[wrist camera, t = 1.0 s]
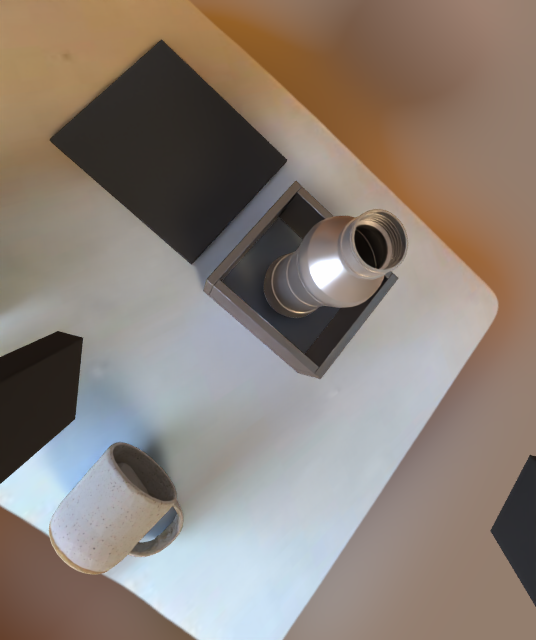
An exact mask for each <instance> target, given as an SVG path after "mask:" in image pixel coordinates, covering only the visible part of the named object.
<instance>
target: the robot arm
mask: <svg viewBox="0 0 536 640" xmlns="http://www.w3.org/2000/svg"><path fill="white" fill-rule="evenodd" d="M82 344H83V338H82V337H79V336H75V335H71V334H67V333H63V332H59V331H57V332H55V333H53V334H50V335H48V336H46V337H44V338H42V339H39V340H37V341H35V342H33V343H31V344H28V345H26V346H24V347H22V348H19V349H17V350H15V351H13V352H11V353H8V354H6V355H4V356H2V357H0V484H1V483H2V482H3V481H4V480H5V479H7V478H8V477H9V476H10V475H11V474H12V473H14V472H15V471H16V470H17V469H18V468H19V467H20V466H22V465H23V464H24V463H25V462H26V461H27V460H29V459H30V458H31V457H32V456H33V455H34V454H35V453H37V452H38V451H39V450H40V449H41V448H42V447H43V446H45V445H46V444H47V443H48V442H49V441H50V440H52V439H53V438H54V437H55V436H56V435H57V434H58V433H60V432H61V431H62V430H63V429H64V428H65V427H66V426H68V425H69V424H70V423H71V422H72V421H73V420H75V415H76V405H77V395H78V384H79V374H80V364H81V354H82ZM491 533H492V534H493V536H494V538H495V539H496V541H497V543H498V544H499V546H500V548H501V549H502V551H503V553H504V554H505V556H506V558H507V559H508V561H509V563H510V564H511V566H512V568H513V569H514V571H515V573H516V574H517V576H518V578H519V579H520V581H521V583H522V584H523V586H524V588H525V589H526V591H527V593H528V594H529V596H530V598H531V599H532V601H533V603H534V604H535V606H536V456H532V455H530V456H529V458H528V460H527V462H526V464H525V466H524V467H523V469H522V471H521V473H520V475H519V477H518V479H517V481H516V483H515V485H514V487H513V489H512V490H511V492H510V495H509V496H508V498H507V500H506V502H505V504H504V506H503V508H502V510H501V512H500V514H499V515H498V517H497V519H496V521H495V523H494V525H493V527H492V529H491Z"/></svg>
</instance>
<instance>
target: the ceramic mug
mask: <svg viewBox="0 0 536 640" xmlns="http://www.w3.org/2000/svg"><path fill="white" fill-rule="evenodd" d="M172 506H173V507H174V509H175V510H176V512H177V515H176V517H175V519H174V521H173V522H172V523H171V524H170V525H169V526H168V527H167V528H166V529H165V530H164V531H163V532H162V533H161V534H160V535H158V536H157V537H156V538H155V539H154V540H151V541H148V542H143V543H140V542H139V541H140V540H141V539H142V538H143V537H144V536H145V535H146V534H147V533H148V531H149V530H150V529H151V528H152V527H153V526H154V525H155V524H156V523H157V522H158V521H159V520H160V519H161V518H162V517H163V516H164V515H165V514H166V513H167V512H168V511H169V509H170V508H171V507H172ZM182 527H183V513H182V510H181V507H180V505H179V502H178V501H177V493H176V489H175V486H174V484H173V483H172V481H171V479H170V478H169V476H168V475H167V473H166V472H165V471H164V470H163V468H162V467H161V466H159V465H158V464H157V463H156V462H155V461H154V460H153V459H152V458H151V457H150V456H148V455H147V454H146V453H145V452H143V451H141V450H140V449H138V448H137V447H134V446H132V445H130V444H127V443H120V442H118V443H115V444H113V445H111V446H110V447H109V448H108V449H107V450H106V452H105V453H104V454H103V455H102V456H101V457H100V459H99V460H98V461H97V462H96V463H95V464H94V465H93V466H92V468H91V469H90V470H89V471H88V472H87V473H86V474H85V476H84V477H83V478H82V479H81V480H80V482H79V483H78V484H77V485H76V486H75V487H74V488H73V489H72V491H71V492H70V493H69V494H68V495H67V496H66V497H65V498H64V500H63V501H62V502H61V503H60V505H59V506H58V508H57V510H56V511H55V512H54V514H53V516H52V518H51V521H50V524H49V535H50V540H51V543H52V545H53V547H54V549H55V551H56V552H57V554H58V556H59V557H61V559H62V560H63V561H64V562H65V563H66V564H68V565H69V566H71V567H72V568H74V569H75V570H77V571H80V572H83V573H86V574H101V573H105V572H107V571H108V570H110V569H111V568H113V567H114V566H115V565H117V564H118V563H119V562H120V561H122V560H123V559H124V558H125V557H126V556H127V555H130V556H135V557H147V556H150V555H153V554H156V553H158V552H160V551H161V550H163V549H164V548H166V547H167V546H168V545H170V544H171V543H172V542H173V541H174V540H175V538H176V537H177V536H178V535H179V533H180V531H181V529H182Z"/></svg>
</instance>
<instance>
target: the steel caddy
mask: <svg viewBox="0 0 536 640" xmlns="http://www.w3.org/2000/svg"><path fill="white" fill-rule="evenodd" d="M330 217H334V216H332V215H331V214H330V213H329V212H328V211H327V210H326V209H325V208H324V207H323V206H322V205H321V204H320V203H319V202H318V201H317V200H316V199H315V198H314V197H313V196H311V195H310V194H309V193H308V192H307V191H306V190H305V189H304V188H303V187H302V186H301V185H300V184H299V183H298V182H297V181H295V182H294V183H293V184H292V185H291V186H290V187H289V189H288V190H287V191H286V192H285V193H284V194H283V195H282V196H281V197H280V199H279V200H278V201H277V202H276V203H275V204H274V205H273V206H272V207H271V208H270V210H269V211H268V212H267V213H266V214H265V215H264V216H263V217H262V218H261V220H260V221H259V222H258V223H257V224H256V225H255V226H254V227H253V228H252V230H251V231H250V232H249V233H248V234H247V235H246V236H245V237H244V238H243V239H242V241H241V242H240V243H239V244H238V245H237V246H236V247H235V248H234V249H233V251H232V252H231V253H230V254H229V255H228V256H227V257H226V258H225V259H224V261H223V262H222V263H221V264H220V265H219V266H218V267H217V268H216V269H215V270H214V272H213V273H212V274H211V275H210V276H209V277H208V278H207V279H206V283H205V286H204V290H203V291H204V292H205V293H206V294H207V295H209V296H210V297H211V298H212V299H213V300H214V301H215V302H217V303H218V304H219V305H220V306H221V307H222V308H224V309H225V310H226V311H227V312H228V313H229V314H230V315H232V316H233V317H234V318H235V319H236V320H237V321H239V322H240V323H241V324H242V325H243V326H244V327H245V328H247V329H248V330H249V331H250V332H251V333H252V334H254V335H255V336H256V337H257V338H258V339H259V340H260V341H262V342H263V343H264V344H265V345H266V346H267V347H269V348H270V349H271V350H272V351H273V352H274V353H276V354H277V355H278V356H279V357H280V358H281V359H282V360H284V361H285V362H286V363H287V364H288V365H289V366H291V367H292V368H293V369H294V370H295V371H296V372H297V373H300V374H304V375H307V376H311V377H315V378H318V379H321V378H322V377H323V375H324V374H325V373H326V371H327V370H328V369H329V368H330V366H331V365H332V364H333V362H334V361H335V360H336V358H337V357H338V356H339V355H340V353H341V352H342V351H343V349H344V348H345V347H346V345H347V344H348V343H349V342H350V340H351V339H352V338H353V336H354V335H355V334H356V333H357V331H358V330H359V329H360V327H361V326H362V325H363V323H364V322H365V321H366V320H367V318H368V317H369V316H370V314H371V313H372V312H373V311H374V309H375V308H376V307H377V305H378V304H379V303H380V301H381V300H382V299H383V298H384V296H385V295H386V294H387V292H388V291H389V290H390V288H391V287H392V286H393V285H394V283H395V282H396V281H397V279H398V277H397V276H396V275H395V274H393V273H392V272H391V271H390V272H388V273H386V274H385V275H384V279H383V281H382V283H381V285H380V286H379V288H378V289H377V290H376V292H375V293H374V294H373V295H372V296H371V297H370V298H369V299H367V300H366V301H365V302H363V303H361V304H359V305H356V306H353V307H344V308H341V309H340V310H339V311H338V312H337V314H336V315H335V316H334V317H333V319H332V320H331V321H330V323H329V324H328V325H327V326H326V328H325V329H324V330H323V331H322V333H321V334H320V335H319V336H318V338H317V339H316V340H315V341H314V343H313V344H312V345H311V346H310V348H309V349H308V350H307V351H306V353H305V354H304V353H303V352H302V351H300V350H299V349H298V348H297V347H296V346H295V345H294V344H292V343H291V342H290V341H289V340H288V339H287V338H286V337H284V336H283V335H282V334H281V333H280V332H279V331H278V330H276V329H275V328H274V327H273V326H272V325H271V324H270V323H268V322H267V321H266V320H265V319H264V318H263V317H262V316H260V315H259V314H258V313H257V312H256V311H255V310H254V309H253V308H251V307H250V306H249V305H248V304H247V303H246V302H245V301H243V300H242V299H241V298H240V297H239V296H238V295H237V294H235V293H234V292H233V291H232V290H231V289H230V288H229V287H227V286H226V285H225V284H224V283H223V282H222V281H223V279H224V278H225V277H226V276H227V275H228V274H229V273H230V272H231V270H232V269H233V268H234V267H235V266H236V265H237V264H238V263H239V261H240V260H241V259H242V258H243V257H244V256H245V255H246V254H247V252H248V251H249V250H250V249H251V248H252V247H253V246H254V245H255V243H256V242H257V241H258V240H259V239H260V238H261V237H262V236H263V235H264V233H265V232H266V231H267V230H268V229H269V228H270V227H271V226H272V224H273V223H274V222H275V221H276V220H277V219H278V218H280V219H281V220H283V221H284V222H285V223H286V224H287V225H288V226H289V227H290V228H291V229H292V230H293V231H294V232H295V233H297V234H298V235H299V236H300V237H301V238H302V239H304V237H305V236H306V235H307V233H308V232H309V231H310V230H311V229H312V227H313V226H315V225H316V224H317V223H318V222H320V221H322V220H324V219H326V218H330Z"/></svg>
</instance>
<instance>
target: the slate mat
mask: <svg viewBox="0 0 536 640" xmlns="http://www.w3.org/2000/svg"><path fill="white" fill-rule="evenodd" d="M50 141H51V142H52V143H53V144H54V145H55V146H56V147H57V148H59V149H60V150H61V151H62V152H63V153H64V154H65V155H67V156H68V157H69V158H70V159H71V160H72V161H73V162H75V163H76V164H77V165H78V166H79V167H80V168H81V169H83V170H84V171H85V172H86V173H87V174H88V175H89V176H91V177H92V178H93V179H94V180H95V181H96V182H97V183H99V184H100V185H101V186H102V187H103V188H104V189H105V190H107V191H108V192H109V193H110V194H111V195H112V196H114V197H115V198H116V199H117V200H118V201H119V202H120V203H122V204H123V205H124V206H125V207H126V208H127V209H128V210H130V211H131V212H132V213H133V214H134V215H135V216H136V217H138V218H139V219H140V220H141V221H142V222H143V223H144V224H146V225H147V226H148V227H149V228H150V229H151V230H152V231H154V232H155V233H156V234H157V235H158V236H159V237H161V238H162V239H163V240H164V241H165V242H166V243H167V244H169V245H170V246H171V247H172V248H173V249H174V250H175V251H177V252H178V253H179V254H180V255H181V256H182V257H183V258H185V259H186V260H187V261H188V262H189V263H190V264H192V263H193V262H194V261H195V260H196V259H197V258H198V257H199V256H200V255H201V254H202V253H203V251H204V250H205V249H206V248H207V247H208V246H209V245H210V244H211V243H212V242H213V241H214V240H215V238H216V237H217V236H218V235H219V234H220V233H221V232H222V231H223V230H224V229H225V228H226V227H227V225H228V224H229V223H230V222H231V221H232V220H233V219H234V218H235V217H236V216H237V215H238V214H239V212H240V211H241V210H242V209H243V208H244V207H245V206H246V205H247V204H248V203H249V202H250V201H251V199H252V198H253V197H254V196H255V195H256V194H257V193H258V192H259V191H260V190H261V189H262V188H263V186H264V185H265V184H266V183H267V182H268V181H269V180H270V179H271V178H272V177H273V176H274V175H275V173H276V172H277V171H278V170H279V169H280V168H281V167H282V166H283V165H284V164H285V163H286V161H287V159H286V158H285V157H284V156H283V155H282V154H280V153H279V152H278V151H277V150H276V149H275V148H274V147H273V146H272V145H271V144H270V143H269V142H268V141H267V140H266V139H265V138H264V137H263V136H262V135H261V134H260V133H259V132H257V131H256V130H255V129H254V128H253V127H252V126H251V125H250V124H249V123H248V122H247V121H246V120H245V119H244V118H243V117H242V116H241V115H240V114H239V113H238V112H237V111H236V110H235V109H233V108H232V107H231V106H230V105H229V104H228V103H227V102H226V101H225V100H224V99H223V98H222V97H221V96H220V95H219V94H218V93H217V92H216V91H215V90H214V89H213V88H212V87H211V86H209V85H208V84H207V83H206V82H205V81H204V80H203V79H202V78H201V77H200V76H199V75H198V74H197V73H196V72H195V71H194V70H193V69H192V68H191V67H190V66H189V65H188V64H186V63H185V62H184V61H183V60H182V59H181V58H180V57H179V56H178V55H177V54H176V53H175V52H174V51H173V50H172V49H171V48H170V47H169V46H168V45H167V44H166V43H165V42H164V41H162V40H161V41H159V42H158V43H157V44H156V45H155V46H154V47H153V48H152V49H150V50H149V51H148V52H147V53H146V54H145V55H144V56H143V57H141V58H140V59H139V60H138V61H137V62H136V63H135V64H134V65H133V66H131V67H130V68H129V69H128V70H127V71H126V72H125V73H124V74H122V75H121V76H120V77H119V78H118V79H117V80H116V81H115V82H113V83H112V84H111V85H110V86H109V87H108V88H107V89H106V90H105V91H103V92H102V93H101V94H100V95H99V96H98V97H97V98H96V99H94V100H93V101H92V102H91V103H90V104H89V105H88V106H87V107H86V108H84V109H83V110H82V111H81V112H80V113H79V114H78V115H77V116H75V117H74V118H73V119H72V120H71V121H70V122H69V123H68V124H66V125H65V126H64V127H63V128H62V129H61V130H60V131H59V132H58V133H56V134H55V135H54V136H53V137H52V138H51V139H50Z"/></svg>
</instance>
